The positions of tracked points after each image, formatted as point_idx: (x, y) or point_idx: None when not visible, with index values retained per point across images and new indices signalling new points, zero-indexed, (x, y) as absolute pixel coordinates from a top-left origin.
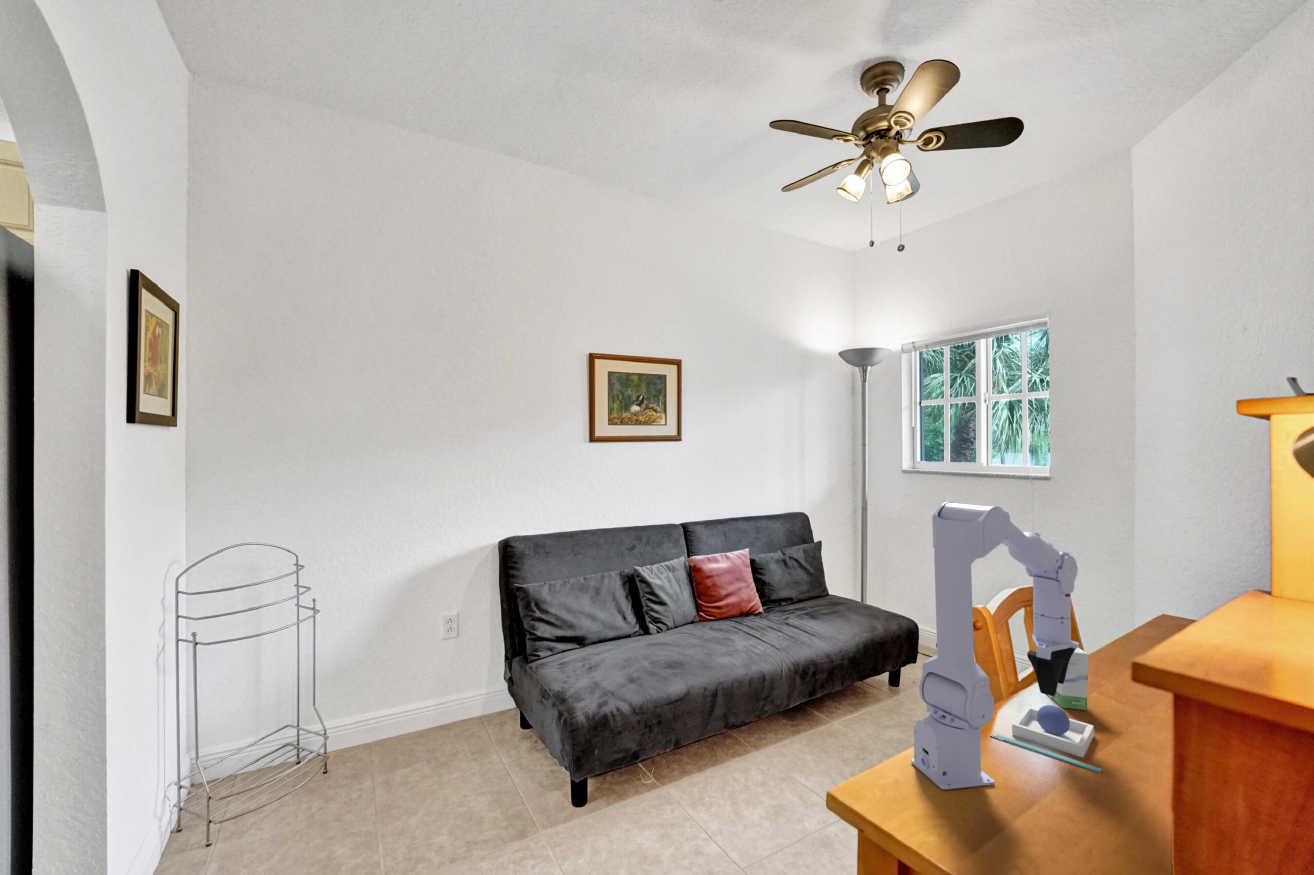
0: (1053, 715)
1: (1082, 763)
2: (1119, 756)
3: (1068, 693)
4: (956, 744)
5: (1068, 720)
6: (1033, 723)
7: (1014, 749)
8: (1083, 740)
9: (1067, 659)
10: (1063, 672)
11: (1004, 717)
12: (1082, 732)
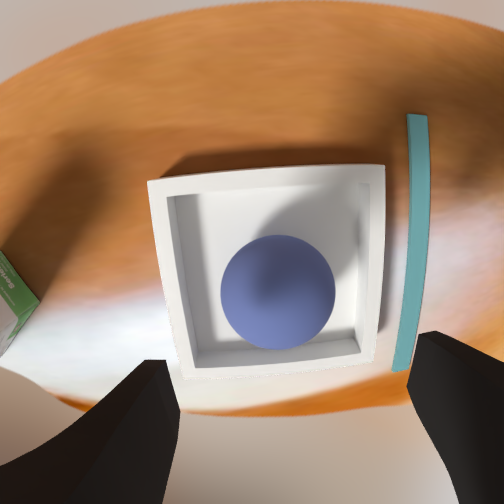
0: (329, 295)
1: (417, 159)
2: (256, 84)
3: (3, 308)
4: None
5: (280, 245)
6: None
7: (438, 308)
8: (333, 173)
9: (85, 494)
10: (139, 414)
11: (253, 391)
12: (175, 208)
